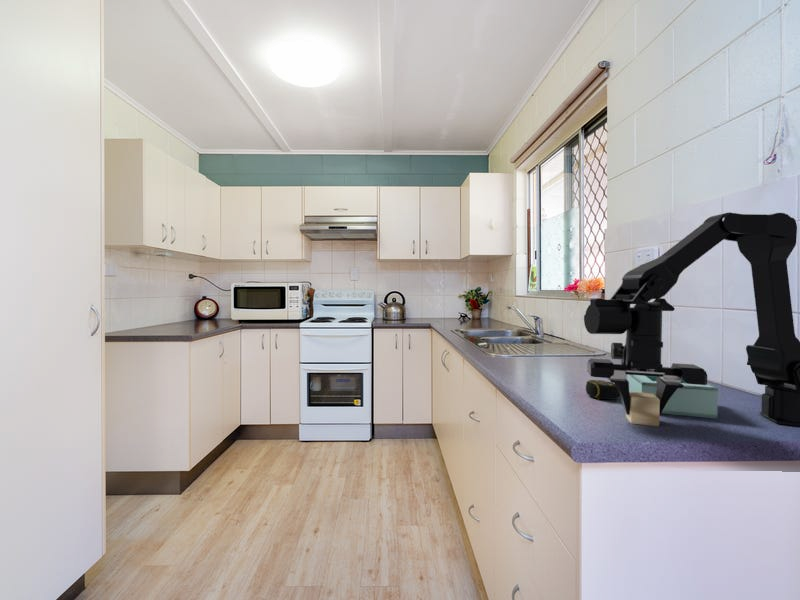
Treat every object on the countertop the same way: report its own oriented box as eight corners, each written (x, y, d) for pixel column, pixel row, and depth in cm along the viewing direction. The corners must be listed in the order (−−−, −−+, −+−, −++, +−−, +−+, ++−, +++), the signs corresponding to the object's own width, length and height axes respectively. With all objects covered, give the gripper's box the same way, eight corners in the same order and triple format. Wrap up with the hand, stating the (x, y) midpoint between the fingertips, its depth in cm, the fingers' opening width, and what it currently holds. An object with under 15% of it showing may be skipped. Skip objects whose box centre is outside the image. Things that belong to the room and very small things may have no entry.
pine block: (652, 418, 75) (652, 393, 75) (659, 426, 71) (659, 399, 71) (625, 416, 77) (626, 391, 77) (631, 423, 73) (631, 396, 72)
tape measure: (625, 400, 89) (625, 384, 88) (601, 403, 86) (602, 386, 86) (601, 393, 95) (601, 378, 95) (579, 395, 93) (579, 379, 93)
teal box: (691, 401, 88) (692, 375, 88) (717, 418, 76) (718, 388, 76) (627, 395, 92) (627, 370, 92) (641, 411, 80) (641, 382, 80)
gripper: (686, 332, 78) (684, 409, 78) (584, 328, 84) (583, 399, 85) (709, 338, 68) (707, 426, 68) (591, 333, 74) (590, 414, 74)
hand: (641, 415), depth 74 cm, fingers closed on pine block, 4 cm apart
